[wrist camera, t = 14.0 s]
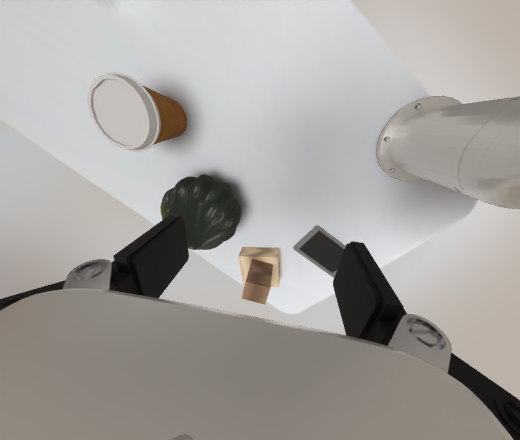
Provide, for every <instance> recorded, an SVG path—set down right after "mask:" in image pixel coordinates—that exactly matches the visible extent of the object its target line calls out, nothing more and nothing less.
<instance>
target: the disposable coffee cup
mask: <svg viewBox="0 0 520 440" xmlns="http://www.w3.org/2000/svg"><path fill="white" fill-rule="evenodd" d="M88 105H89V110H90V113H91V116H92V119H93V121H94V123H95V125H96V126H97V128H98V129H99V131H100V132H101V133H102V135H103V136H104V137H105V138H106V139H107V140H109V141H110V142H111V143H113V144H114V145H116V146H118V147H121V148H124V149H126V150H129V151H134V152H140V151H144V150H147V149H149V148H150V147H151V146H152V145H153V144H156V143H159V142H162V141H165V140H168V139H171V138H174V137H176V136H179V135H181V134H182V133H183V132H184V130H185V128H186V116H185V113H184V111H183V109H182V107H181V106H180V105H179V104H178V103H177V102H176V101H174V100H172V99H170V98H167V97H165V96H163V95H161V94H159V93H157V92H155V91H153V90H151V89H149V88H147V87H145V86H142V85H141V84H140V83H139V82H138V81H137V80H135V79H134V78H132V77H130V76H128V75H125V74H123V73H117V72H113V73H108V74H106V75H102V76H99V77H98V78H96V79H95V80H94V81H93V83H92V84H91V86H90V88H89V93H88Z"/></svg>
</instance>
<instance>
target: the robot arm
mask: <svg viewBox="0 0 520 440" xmlns="http://www.w3.org/2000/svg"><path fill="white" fill-rule="evenodd" d="M415 106H416V108H415ZM384 138H386V139H385V140H384ZM377 158H378V162H379V164H380V166H381V168H382V169H383V170H384V171H385V172H386V173H387V174H388V175H390V176H392V177H394V178H396V179H399V180H405V181H415V180H420V179H426V180H428V181H431V182H434V183H436V184H439V185H441V186H444V187H446V188H449V189H452V190H454V191H457V192H459V193H462V194H465V195H467V196H470V197H472V198H475V199H477V200H481V201H483V202H486V203H489V204H493V205H496V206H499V207H505V208H512V209H520V97H513V98H505V99H498V100H491V101H484V102H476V103H468V104H461V103H460V102H459V101H457V100H455V99H453V98H450V97H445V96H433V97H428V98H424V99H420V100H417V101H415V102H413V103H411V104H409V105H407V106H406V107H404V108H403V109H401V110H400V111H399V112H398V113H396V114H395V115H394V116H393V117H392V118H391V119H390V121H389V122H388V123H387V124H386V126H385V128H384V129H383V131H382V133H381V135H380V138H379V140H378V145H377ZM390 169H391V170H390ZM389 170H390V171H389ZM188 257H189V254H188V245H187V237H186V228H185V221H184V219H182V217H181V216H176V215H169V216H168V217H166V218H165V219H164V220H162V221H161V222H160V223H158V224H157V225H155V226H154V227H153V228H151V229H150V230H149V231H147V232H146V233H144V234H143V235H142V236H140V237H139V238H137V239H136V240H135V241H134V242H132V243H131V244H129V245H128V246H126V247H125V248H124V249H122V250H121V251H120V252H118V253H117V254H115V255H114V259H115V261H113V262H112V263H111V262H110V261H109V260H105V259H98V260H92V261H89V262H86V263H83V264H81V265H79V266H77V267H76V268H74V269H73V270H72V271H71V272H70V273H69V275H68V276H67V279H66V280H65V281H62V282H58V283H55V284H51V285H48V286H44V287H41V288H37V289H34V290H30V291H27V292H24V293H20V294H16V295H13V296H10V297H6V298H3V299H0V440H520V400H519V399H517V398H516V397H514V396H513V395H511V394H510V393H508V392H507V391H506V390H504V389H503V388H501V387H500V386H498V385H497V384H496V383H494V382H493V381H491V380H490V379H488V378H487V377H486V376H484V375H482V374H481V373H480V372H478V371H477V370H475V369H474V368H473V367H471V366H470V365H468V364H467V363H465V362H464V361H462V360H461V359H459V358H458V357H457V356H455V355H454V354H453V353H451V350H452V348H451V343H450V341H449V339H448V338H447V336H446V335H445V334H444V333H443V332H442V331H441V330H440V329H439V328H438V327H437V326H436V325H434V324H433V323H431V322H430V321H428V320H426V319H424V318H423V317H420V316H417V315H413V314H407V313H406V311H405V310H404V308H403V305H402V304H401V302H400V301H399V299H398V297H397V296H396V294H395V293H394V291H393V290H392V288H391V286H390V284H389V283H388V281H387V280H386V278H385V276H384V275H383V273H382V272H381V270H380V269H379V267H378V265H377V264H376V262H375V261H374V259H373V257H372V256H371V254H370V253H369V251H368V249H367V248H366V246H365V245H364V243H359V242H351V243H350V244H347V245H346V247H345V250H344V252H343V255H342V258H341V261H340V264H339V266H338V269H337V272H336V275H335V277H334V280H333V287H334V291H335V294H336V298H337V302H338V306H339V309H340V313H341V317H342V320H343V324H344V327H345V331H346V335H341V334H336V333H331V332H327V331H322V330H318V329H313V328H307V327H302V326H298V325H293V324H287V323H283V322H277V321H273V320H268V319H263V318H257V317H251V316H247V315H242V314H237V313H232V312H227V311H221V310H216V309H211V308H205V307H201V306H195V305H190V304H185V303H179V302H174V301H169V300H164V299H158V298H159V297H160V295H161V294H162V293H163V292H164V290H165V289H166V288H167V286H168V285H169V284H170V283H171V281H172V280H173V279H174V277H175V276H176V275H177V273H178V272H179V271H180V269H181V268H182V267H183V266H184V264H185V263H186V262H187V260H188Z"/></svg>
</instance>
